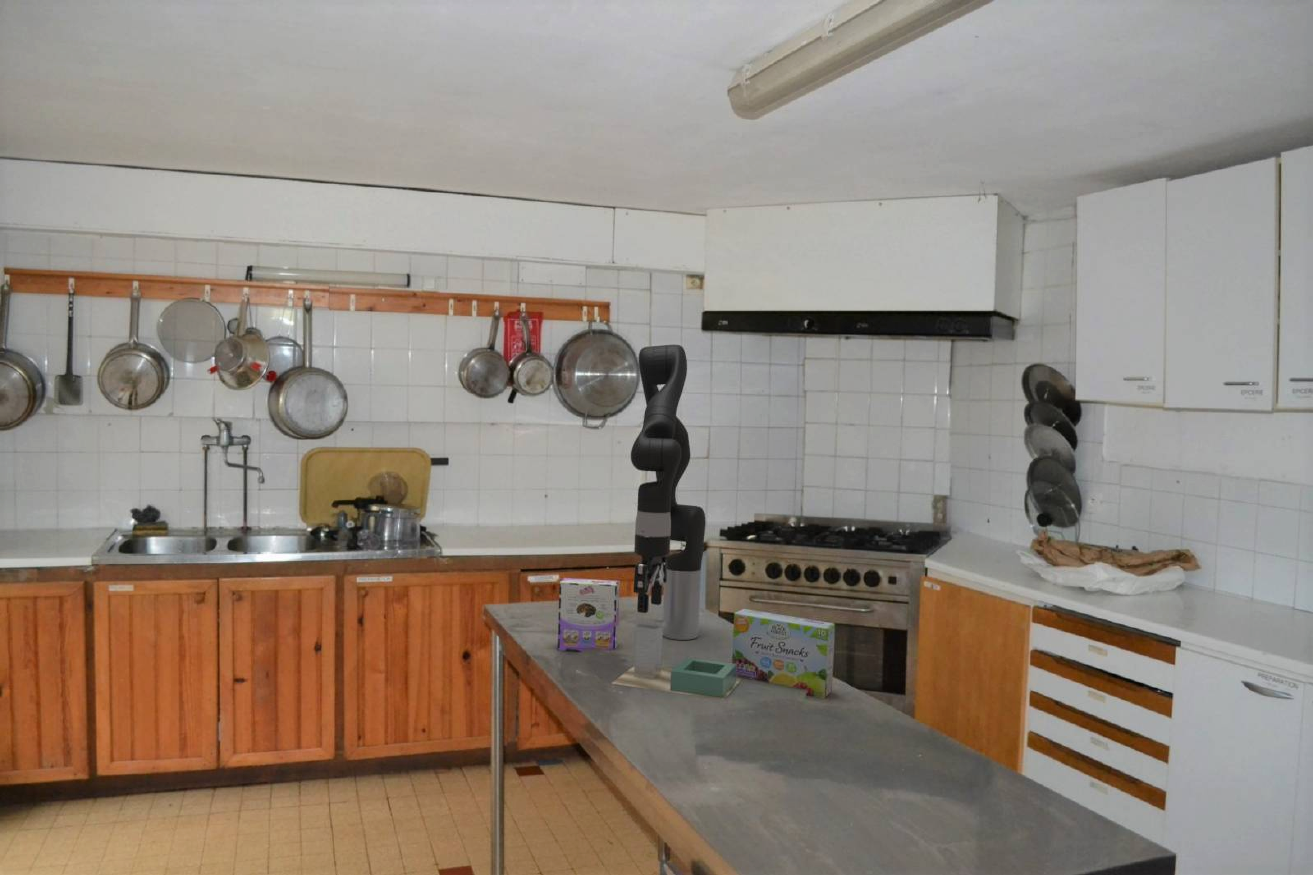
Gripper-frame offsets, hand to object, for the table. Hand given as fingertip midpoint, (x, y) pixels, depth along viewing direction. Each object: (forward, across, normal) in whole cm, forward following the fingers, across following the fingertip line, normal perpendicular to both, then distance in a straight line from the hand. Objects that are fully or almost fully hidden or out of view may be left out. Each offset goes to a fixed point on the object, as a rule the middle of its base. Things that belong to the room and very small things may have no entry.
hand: (649, 608), depth 204 cm
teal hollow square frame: (+14, +2, +13) cm, 20 cm away
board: (+16, +1, +7) cm, 17 cm away
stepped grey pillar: (+14, 0, 0) cm, 15 cm away
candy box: (+16, -17, -21) cm, 31 cm away
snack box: (+16, -9, +27) cm, 33 cm away
